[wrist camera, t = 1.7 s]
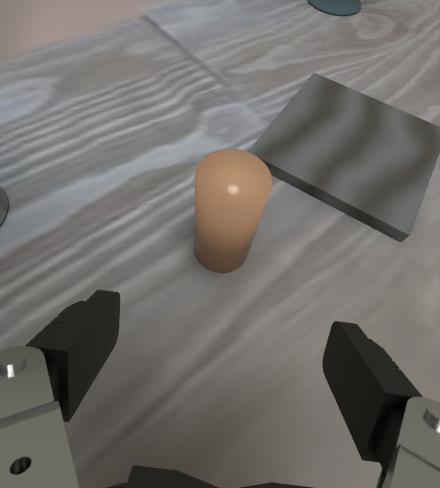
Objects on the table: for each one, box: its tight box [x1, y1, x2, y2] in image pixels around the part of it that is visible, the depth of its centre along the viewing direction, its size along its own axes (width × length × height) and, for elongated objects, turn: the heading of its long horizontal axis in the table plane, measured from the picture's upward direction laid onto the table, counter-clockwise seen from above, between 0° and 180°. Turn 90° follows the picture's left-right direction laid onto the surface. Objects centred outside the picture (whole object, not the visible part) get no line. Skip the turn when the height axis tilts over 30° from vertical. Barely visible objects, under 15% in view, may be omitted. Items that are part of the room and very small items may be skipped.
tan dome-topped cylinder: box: [195, 149, 272, 273], centre depth 26 cm, size 6×6×11 cm
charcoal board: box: [248, 73, 440, 242], centre depth 38 cm, size 20×20×2 cm
